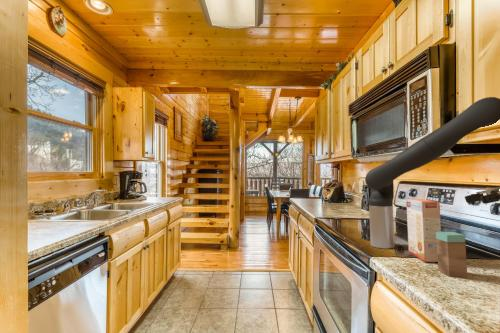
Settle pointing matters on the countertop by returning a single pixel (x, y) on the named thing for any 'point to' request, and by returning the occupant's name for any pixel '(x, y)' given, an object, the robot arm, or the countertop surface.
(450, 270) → the walnut block
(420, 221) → the cracker box
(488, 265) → the countertop surface
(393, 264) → the countertop surface
